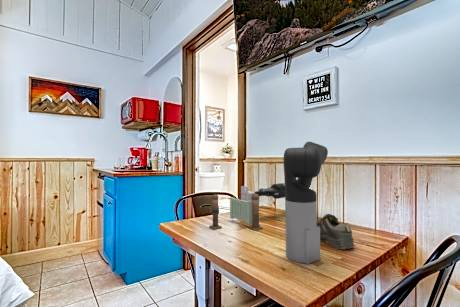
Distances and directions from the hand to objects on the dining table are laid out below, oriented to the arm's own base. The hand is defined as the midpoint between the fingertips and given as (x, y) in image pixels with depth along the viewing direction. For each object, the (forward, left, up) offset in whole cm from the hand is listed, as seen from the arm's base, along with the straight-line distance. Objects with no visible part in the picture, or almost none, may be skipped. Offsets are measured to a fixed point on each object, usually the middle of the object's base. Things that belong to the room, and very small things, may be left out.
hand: (255, 194), depth 122 cm
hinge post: (-10, +9, -13) cm, 18 cm away
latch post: (+1, +22, -13) cm, 26 cm away
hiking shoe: (-38, -2, -13) cm, 40 cm away
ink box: (+16, -8, -13) cm, 22 cm away
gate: (+1, +9, -12) cm, 15 cm away
